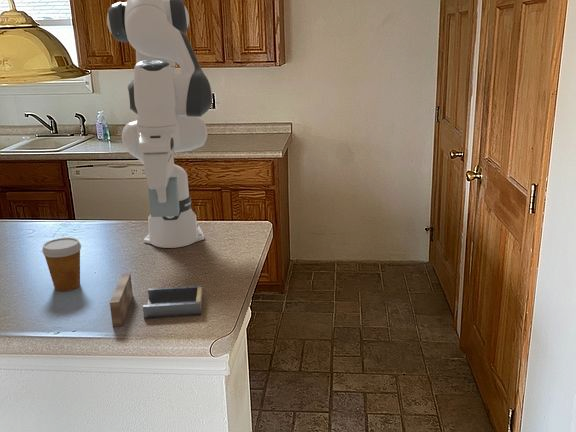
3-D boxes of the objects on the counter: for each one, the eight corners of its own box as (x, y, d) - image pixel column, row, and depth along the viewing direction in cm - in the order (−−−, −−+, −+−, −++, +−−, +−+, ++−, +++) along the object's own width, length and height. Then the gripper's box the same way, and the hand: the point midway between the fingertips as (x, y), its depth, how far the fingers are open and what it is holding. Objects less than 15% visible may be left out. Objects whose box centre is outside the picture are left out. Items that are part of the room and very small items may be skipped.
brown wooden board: (124, 295, 144) (122, 273, 142) (132, 295, 144) (130, 273, 142) (112, 326, 129) (109, 302, 127) (121, 326, 129) (118, 302, 127)
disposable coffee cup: (89, 277, 155) (83, 235, 152) (83, 292, 146) (77, 248, 143) (52, 280, 154) (45, 238, 150) (44, 295, 145) (36, 251, 141)
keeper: (149, 299, 142) (148, 288, 141) (202, 296, 143) (201, 285, 142) (144, 318, 132) (142, 306, 131) (200, 315, 133) (200, 303, 132)
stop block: (153, 211, 132) (150, 178, 130) (179, 210, 133) (177, 177, 130) (151, 217, 128) (147, 182, 126) (178, 215, 129) (175, 181, 126)
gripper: (150, 130, 135) (155, 187, 139) (137, 146, 115) (143, 212, 119) (177, 129, 135) (181, 186, 139) (169, 145, 116) (174, 211, 120)
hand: (164, 198), depth 129 cm, fingers closed on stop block, 4 cm apart
